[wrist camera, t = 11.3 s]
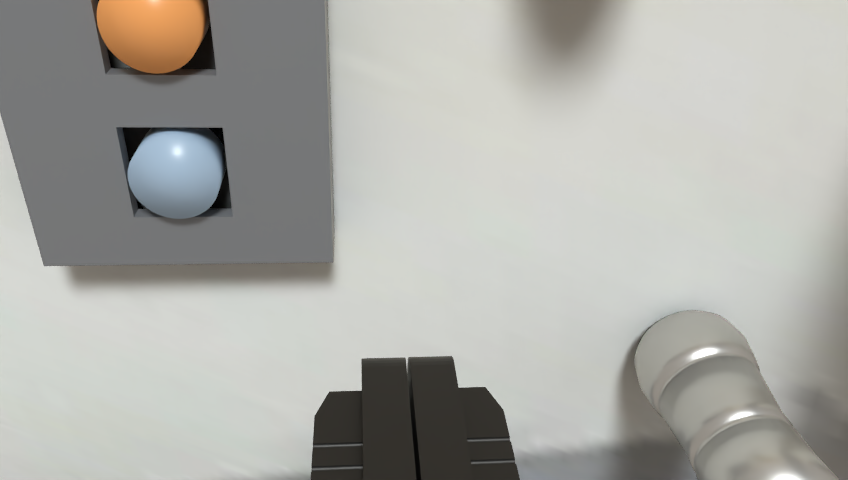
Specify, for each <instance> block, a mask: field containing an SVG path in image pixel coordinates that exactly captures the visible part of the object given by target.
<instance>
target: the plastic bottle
mask: <svg viewBox="0 0 848 480" xmlns="http://www.w3.org/2000/svg"><path fill="white" fill-rule="evenodd" d="M634 365H635V370H636V374H637V378H638V382H639V386H640V389H641V390H642V392H643V393H644V395H645V396H646V398H647V399H648V401H649V402H650V403H651V405H652V406H653V408H654V409H655V410H656V411H657V412H658V413H659V414H660V416H661V417H662V418H664V419H665V421H666V423H667V424H668V426H669V427H670V429H671V430H672V432H673V434H674V435H675V437H676V438H677V440H678V442H679V443H680V445H681V446H682V448H683V449H684V451H685V453H686V454H687V456H688V459H689V461H690V463H691V465H692V468H693V470H694V471H695V473H696V477H697V479H698V480H840V479H839V478H838V477H837V476H836V475H835V474H834V473H833V472H832V471H831V470H830V469H829V468H828V467H827V466H826V465H825V464H824V463H823V461H822V460H821V459H820V458H819V457H818V456H817V455H816V454H815V453H814V452H813V450H812V449H811V448H810V447H809V445H808V444H807V443H806V441H805V440H804V439H803V438H802V436H801V435H800V434H799V432H798V431H797V430H796V429H795V428H794V427H793V425H792V424H791V422H790V421H789V420H788V418H787V417H786V416H785V415H784V413H783V412H782V411H781V409H780V407H779V405H778V404H777V402H776V400H775V398H774V396H773V395H772V393H771V391H770V389H769V387H768V386H767V384H766V382H765V380H764V379H763V377H762V375H761V373H760V369H759V366H758V364H757V361H756V358H755V356H754V354H753V352H752V350H751V348H750V346H749V344H748V342H747V340H746V338H745V337H744V335H743V334H742V333H741V332H740V331H739V330H738V329H736V328H735V327H734V326H733V325H732V324H731V323H730V322H729V321H728V320H726V319H725V318H723V317H722V316H720V315H717V314H714V313H710V312H705V311H698V310H687V311H681V312H677V313H674V314H671V315H669V316H667V317H665V318H663V319H661V320H659V321H658V322H656V323H655V324H654V325H653V326H652V327H650V328H649V329H648V330H647V332H646V333H645V334H644V335H643V337H642V339H641V341H640V343H639V345H638V348H637V350H636V354H635V358H634Z"/></svg>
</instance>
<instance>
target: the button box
mask: <svg viewBox="0 0 848 480" xmlns="http://www.w3.org/2000/svg"><path fill="white" fill-rule="evenodd" d="M208 5H209V14H210V22H211V31H212V40H213V48H214V57H215V66H216V69H177V70H174V71H171V72H168V73H159V74H155V73H147V72H142V71H139V70H136V69H134V68H111V66H110V61H109V56H108V51H107V46H106V44H105V42H104V41H103V39H102V37H101V34H100V32H99V28H98V24H97V6H98V0H0V113H1V117H2V120H3V124H4V127H5V131H6V134H7V138H8V141H9V145H10V148H11V152H12V155H13V159H14V162H15V166H16V169H17V173H18V177H19V180H20V184H21V187H22V191H23V194H24V198H25V201H26V205H27V208H28V212H29V215H30V219H31V222H32V226H33V229H34V233H35V236H36V240H37V243H38V247H39V250H40V254H41V257H42V261H43V264H44V266H85V265H162V264H239V263H316V262H333V255H334V199H333V166H332V134H331V101H330V69H329V36H328V3H327V0H208ZM122 127H193V128H223V135H224V144H225V153H226V161H227V170H228V179H229V187H230V196H231V205H232V209H207V210H206V211H205V212H203V213H202V214H200V215H197V216H194V217H191V218H186V219H174V218H168V217H164V216H161V215H158V214H156V213H154V212H152V211H150V210H149V209H138V206H137V201H136V197H135V196H134V194H133V192H132V190H131V188H130V185H129V182H128V167H129V159H128V154H127V149H126V144H125V139H124V133H123V128H122Z"/></svg>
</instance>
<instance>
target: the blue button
mask: <svg viewBox="0 0 848 480" xmlns="http://www.w3.org/2000/svg"><path fill="white" fill-rule="evenodd" d="M226 167H227V161H226V153H225V149H224V146H223V144H222V142H221V141H220V139H219V138H218V137H217V136H216V135H215V134H214V133H213V132H212V131H211V130H210V129H208V128H193V127H152V128H151V129H150V130H149V131H148V132H147V134H146V135H145V137H144V138H143V140H142V142H141V144H140V145H139V147H138V149H137V150H136V152H135V154H134V156H133V157H132V159H131V161H130V163H129V167H128V182H129V185H130V188H131V190H132V192H133V194H134V196H135V197H136V198H137V199H138V201H139V202H140V203H141V204H142V205H144V206H145V207H146V208H147V209H149V210H150V211H152V212H154V213H156V214H158V215H161V216H164V217H168V218H174V219H186V218H191V217H194V216H197V215H200V214H202V213H203V212H205V211H206V210H207V209H209V208H210V207H211V205H212V204H213V203H214V201H215V200H216V198H217V195H218V192H219V189H220V186H221V183H222V180H223V177H224V174H225V171H226Z"/></svg>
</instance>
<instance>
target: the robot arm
mask: <svg viewBox="0 0 848 480" xmlns="http://www.w3.org/2000/svg"><path fill="white" fill-rule="evenodd" d="M311 480H520V478H519V474H518V470H517V466H516V464H515V457H514V453H513V449H512V445H511V442H510V436H509V432H508V428H507V423H506V419H505V415H504V411H503V409H502V408H501V406H500V405H499V404H498V403H497V401H496V400H495V399H494V398H493V396H492V395H491V394H490V393H489V391H488V390H487V389H486V387H471V388H458V383H457V377H456V371H455V365H454V360H453V357H452V356H440V357H409V358H408V368H406V359H405V358H367V359H362V391H339V392H329V393H328V395H327V397H326V398H325V400H324V402H323V403H322V405H321V406H320V408H319V410H318V411H317V413H316V415H315V420H314V437H313V453H312V472H311Z"/></svg>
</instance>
